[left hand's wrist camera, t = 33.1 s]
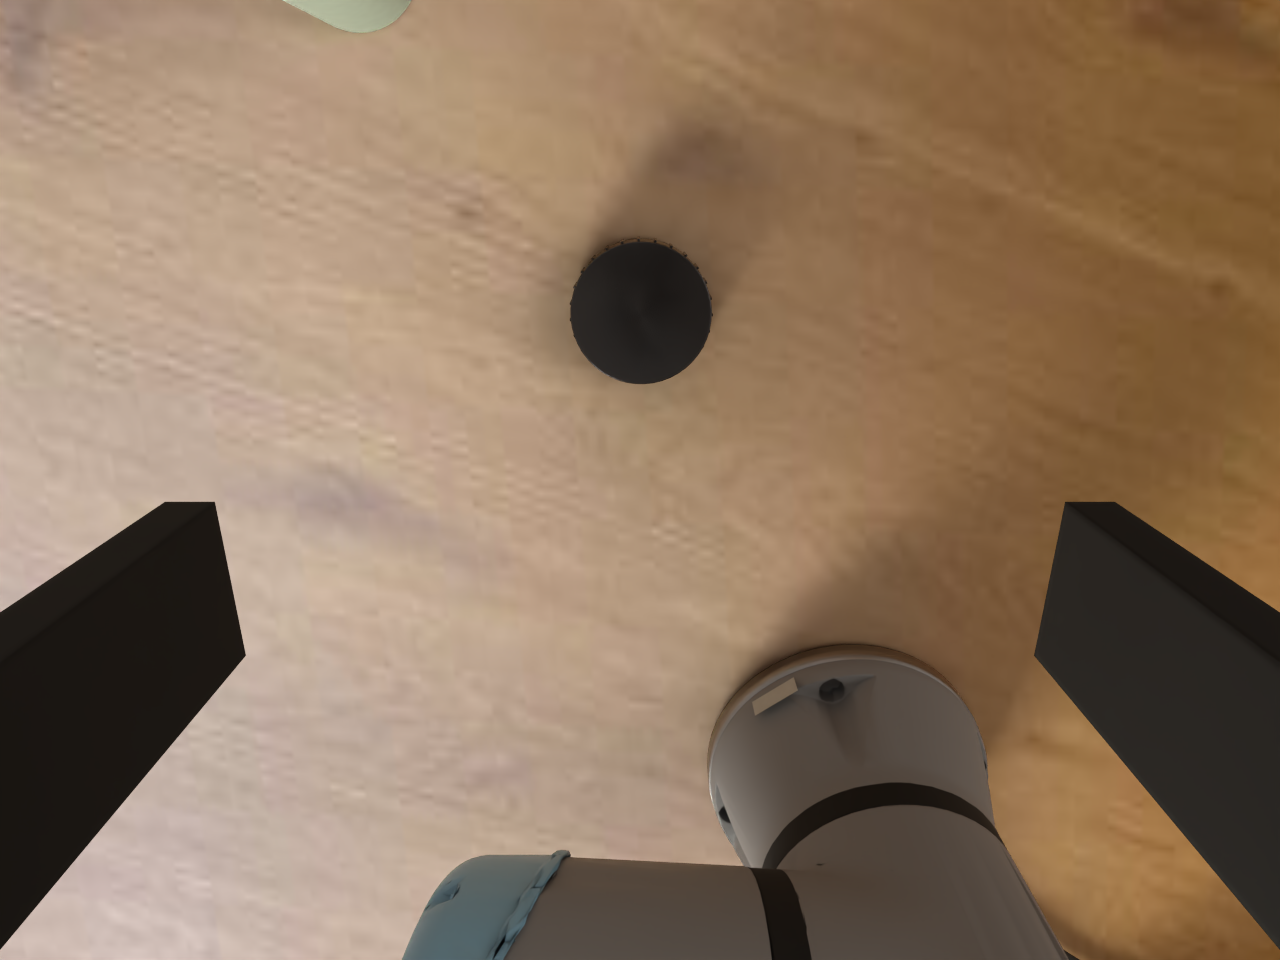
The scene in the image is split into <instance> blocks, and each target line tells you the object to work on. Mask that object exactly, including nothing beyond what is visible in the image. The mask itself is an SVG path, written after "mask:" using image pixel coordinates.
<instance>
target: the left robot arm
mask: <svg viewBox="0 0 1280 960" xmlns="http://www.w3.org/2000/svg"><path fill="white" fill-rule="evenodd" d="M245 656H246V654H245V649H244V644H243V639H242V634H241V630H240V625H239V620H238V615H237V610H236V605H235V600H234V595H233V590H232V585H231V580H230V575H229V570H228V565H227V560H226V555H225V550H224V545H223V540H222V536H221V531H220V526H219V521H218V516H217V511H216V506H215V502H164V503H163V504H161V505H160V506H158V507H157V508H155V509H154V510H152V511H151V512H149V513H148V514H146V515H145V516H143V517H142V518H140V519H139V520H137V521H136V522H134V523H133V524H132V525H130V526H129V527H127V528H126V529H124V530H123V531H121V532H120V533H118V534H117V535H115V536H114V537H112V538H111V539H109V540H108V541H106V542H105V543H103V544H102V545H100V546H99V547H97V548H96V549H94V550H93V551H91V552H90V553H88V554H87V555H85V556H84V557H82V558H81V559H79V560H78V561H76V562H75V563H73V564H72V565H70V566H69V567H67V568H66V569H64V570H63V571H61V572H60V573H58V574H57V575H55V576H54V577H53V578H51V579H50V580H48V581H47V582H45V583H44V584H42V585H41V586H39V587H38V588H36V589H35V590H33V591H32V592H30V593H29V594H27V595H26V596H24V597H23V598H21V599H20V600H18V601H17V602H15V603H14V604H12V605H11V606H9V607H8V608H6V609H5V610H3V611H2V612H0V949H1V948H2V947H3V946H4V944H5V943H6V942H7V941H8V940H9V938H10V937H11V936H12V935H13V934H14V932H15V931H16V930H17V929H18V928H19V926H20V925H21V924H22V923H23V922H24V920H25V919H26V918H27V917H28V916H29V915H30V913H31V912H32V911H33V910H34V909H35V907H36V906H37V905H38V904H39V903H40V901H41V900H42V899H43V898H44V897H45V895H46V894H47V893H48V892H49V891H50V889H51V888H52V887H53V886H54V885H55V883H56V882H57V881H58V880H59V879H60V877H61V876H62V875H63V874H64V873H65V871H66V870H67V869H68V868H69V867H70V865H71V864H72V863H73V862H74V861H75V859H76V858H77V857H78V856H79V855H80V853H81V852H82V851H83V850H84V849H85V847H86V846H87V845H88V844H89V843H90V841H91V840H92V839H93V838H94V837H95V835H96V834H97V833H98V832H99V831H100V829H101V828H102V827H103V826H104V825H105V823H106V822H107V821H108V820H109V819H110V818H111V816H112V815H113V814H114V813H115V812H116V810H117V809H118V808H119V807H120V806H121V804H122V803H123V802H124V801H125V800H126V798H127V797H128V796H129V795H130V794H131V792H132V791H133V790H134V789H135V788H136V786H137V785H138V784H139V783H140V782H141V780H142V779H143V778H144V777H145V776H146V774H147V773H148V772H149V771H150V770H151V768H152V767H153V766H154V765H155V764H156V762H157V761H158V760H159V759H160V758H161V756H162V755H163V754H164V753H165V752H166V750H167V749H168V748H169V747H170V746H171V744H172V743H173V742H174V741H175V740H176V738H177V737H178V736H179V735H180V734H181V732H182V731H183V730H184V729H185V728H186V726H187V725H188V724H189V723H190V722H191V721H192V719H193V718H194V717H195V716H196V715H197V713H198V712H199V711H200V710H201V709H202V707H203V706H204V705H205V704H206V703H207V701H208V700H209V699H210V698H211V697H212V695H213V694H214V693H215V692H216V691H217V689H218V688H219V687H220V686H221V685H222V683H223V682H224V681H225V680H226V679H227V677H228V676H229V675H230V674H231V673H232V671H233V670H234V669H235V668H236V667H237V665H238V664H239V663H240V662H241V661H242V659H243V658H244V657H245ZM1034 656H1035V657H1036V658H1037V659H1038V661H1039V662H1040V663H1041V664H1042V665H1043V667H1044V668H1045V669H1046V670H1047V671H1048V673H1049V674H1050V675H1051V676H1052V677H1053V679H1054V680H1055V681H1056V682H1057V683H1058V685H1059V686H1060V687H1061V688H1062V689H1063V691H1064V692H1065V693H1066V694H1067V695H1068V697H1069V698H1070V699H1071V700H1072V701H1073V703H1074V704H1075V705H1076V706H1077V707H1078V709H1079V710H1080V711H1081V712H1082V713H1083V715H1084V716H1085V717H1086V718H1087V719H1088V721H1089V722H1090V723H1091V724H1092V725H1093V726H1094V728H1095V729H1096V730H1097V731H1098V732H1099V734H1100V735H1101V736H1102V737H1103V738H1104V740H1105V741H1106V742H1107V743H1108V744H1109V746H1110V747H1111V748H1112V749H1113V750H1114V752H1115V753H1116V754H1117V755H1118V756H1119V758H1120V759H1121V760H1122V761H1123V762H1124V764H1125V765H1126V766H1127V767H1128V768H1129V770H1130V771H1131V772H1132V773H1133V774H1134V776H1135V777H1136V778H1137V779H1138V780H1139V782H1140V783H1141V784H1142V785H1143V786H1144V788H1145V789H1146V790H1147V791H1148V792H1149V794H1150V795H1151V796H1152V797H1153V798H1154V800H1155V801H1156V802H1157V803H1158V804H1159V806H1160V807H1161V808H1162V809H1163V810H1164V812H1165V813H1166V814H1167V815H1168V816H1169V818H1170V819H1171V820H1172V821H1173V822H1174V823H1175V825H1176V826H1177V827H1178V828H1179V829H1180V831H1181V832H1182V833H1183V834H1184V835H1185V837H1186V838H1187V839H1188V840H1189V841H1190V843H1191V844H1192V845H1193V846H1194V847H1195V849H1196V850H1197V851H1198V852H1199V853H1200V855H1201V856H1202V857H1203V858H1204V859H1205V861H1206V862H1207V863H1208V864H1209V865H1210V867H1211V868H1212V869H1213V870H1214V871H1215V873H1216V874H1217V875H1218V876H1219V877H1220V879H1221V880H1222V881H1223V882H1224V883H1225V885H1226V886H1227V887H1228V888H1229V889H1230V891H1231V892H1232V893H1233V894H1234V895H1235V897H1236V898H1237V899H1238V900H1239V901H1240V903H1241V904H1242V905H1243V906H1244V907H1245V909H1246V910H1247V911H1248V912H1249V913H1250V915H1251V916H1252V917H1253V918H1254V919H1255V921H1256V922H1257V923H1258V924H1259V925H1260V926H1261V928H1262V929H1263V930H1264V931H1265V932H1266V934H1267V935H1268V936H1269V937H1270V938H1271V940H1272V941H1273V942H1274V943H1275V944H1276V946H1277V947H1278V948H1279V949H1280V612H1278V611H1277V610H1275V609H1274V608H1272V607H1271V606H1269V605H1268V604H1266V603H1265V602H1263V601H1262V600H1260V599H1259V598H1257V597H1256V596H1254V595H1253V594H1251V593H1250V592H1248V591H1247V590H1245V589H1244V588H1242V587H1241V586H1239V585H1238V584H1236V583H1235V582H1233V581H1232V580H1230V579H1229V578H1227V577H1226V576H1225V575H1223V574H1222V573H1220V572H1219V571H1217V570H1216V569H1214V568H1213V567H1211V566H1210V565H1208V564H1207V563H1205V562H1204V561H1202V560H1201V559H1199V558H1198V557H1196V556H1195V555H1193V554H1192V553H1190V552H1189V551H1187V550H1186V549H1184V548H1183V547H1181V546H1180V545H1178V544H1177V543H1175V542H1174V541H1172V540H1171V539H1169V538H1168V537H1166V536H1165V535H1163V534H1162V533H1160V532H1159V531H1157V530H1156V529H1154V528H1153V527H1151V526H1150V525H1148V524H1147V523H1146V522H1144V521H1143V520H1141V519H1140V518H1138V517H1137V516H1135V515H1134V514H1132V513H1131V512H1129V511H1128V510H1126V509H1125V508H1123V507H1122V506H1120V505H1119V504H1117V503H1116V502H1065V506H1064V511H1063V516H1062V521H1061V526H1060V531H1059V536H1058V540H1057V545H1056V550H1055V555H1054V560H1053V565H1052V570H1051V575H1050V580H1049V585H1048V590H1047V595H1046V600H1045V605H1044V610H1043V615H1042V620H1041V625H1040V630H1039V634H1038V639H1037V644H1036V649H1035V654H1034ZM707 769H708V779H709V788H710V794H711V799H712V803H713V806H714V809H715V812H716V815H717V818H718V820H719V823H720V825H721V827H722V829H723V831H724V833H725V834H726V836H727V838H728V840H729V841H730V843H731V844H732V845H733V847H734V849H735V851H736V853H737V855H738V857H739V858H740V860H741V862H742V863H743V865H744V866H727V865H708V864H689V863H669V862H650V861H631V860H612V859H593V858H573V857H570V856H571V854H570V852H569V851H566V850H559V851H556V852H555V853H553V854H552V855H485V856H479V857H476V858H472V859H470V860H467V861H465V862H464V863H462V864H460V865H459V866H458V867H456V868H455V869H454V870H453V871H451V873H450V874H449V875H448V876H447V877H446V878H445V879H444V880H443V881H442V882H441V884H440V885H439V886H438V888H437V889H436V890H435V892H434V893H433V895H432V897H431V898H430V900H429V902H428V904H427V906H426V907H425V909H424V911H423V913H422V916H421V917H420V919H419V921H418V924H417V926H416V928H415V930H414V932H413V934H412V937H411V939H410V941H409V944H408V946H407V948H406V951H405V953H404V956H403V958H402V960H1079V959H1077V958H1076V957H1074V956H1072V955H1071V954H1069V953H1068V952H1066V951H1065V950H1063V948H1062V947H1061V945H1060V943H1059V941H1058V940H1057V938H1056V936H1055V934H1054V932H1053V931H1052V929H1051V927H1050V925H1049V923H1048V922H1047V920H1046V918H1045V916H1044V914H1043V913H1042V911H1041V909H1040V907H1039V906H1038V904H1037V902H1036V900H1035V898H1034V897H1033V895H1032V893H1031V891H1030V889H1029V888H1028V886H1027V884H1026V882H1025V880H1024V879H1023V877H1022V875H1021V873H1020V872H1019V870H1018V868H1017V866H1016V864H1015V863H1014V861H1013V859H1012V857H1011V856H1010V854H1009V852H1008V851H1007V849H1006V847H1005V845H1004V843H1003V842H1002V840H1001V838H1000V836H999V834H998V832H997V830H996V828H995V824H994V818H993V811H992V804H991V798H990V791H989V786H988V772H987V757H986V751H985V746H984V743H983V740H982V737H981V735H980V732H979V729H978V726H977V724H976V722H975V720H974V717H973V716H972V714H971V713H970V711H969V709H968V708H967V706H966V704H965V703H964V701H963V700H962V698H961V696H960V695H959V693H958V692H957V691H956V689H955V688H954V687H953V686H952V684H951V683H950V682H949V681H948V680H947V679H946V678H944V677H943V676H942V675H941V674H940V673H939V672H937V671H936V670H935V669H933V668H932V667H930V666H929V665H927V664H926V663H924V662H922V661H920V660H918V659H916V658H914V657H912V656H909V655H907V654H904V653H902V652H898V651H895V650H891V649H888V648H882V647H877V646H868V645H836V646H828V647H822V648H817V649H813V650H809V651H805V652H802V653H799V654H796V655H793V656H791V657H789V658H786V659H784V660H782V661H779V662H778V663H776V664H774V665H772V666H770V667H768V668H767V669H765V670H764V671H762V672H761V673H759V674H758V675H756V676H755V677H754V678H752V679H751V680H750V681H749V682H748V683H746V684H745V685H744V686H743V687H742V688H741V689H740V690H739V691H738V692H737V693H736V694H735V695H734V697H733V698H732V699H731V700H730V701H729V703H728V704H727V706H726V707H725V708H724V710H723V711H722V713H721V715H720V717H719V719H718V720H717V722H716V725H715V727H714V730H713V732H712V735H711V739H710V743H709V748H708V756H707Z"/></svg>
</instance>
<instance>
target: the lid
mask: <svg viewBox="0 0 1280 960" xmlns="http://www.w3.org/2000/svg"><path fill="white" fill-rule="evenodd" d="M698 269H699V268H698V266H697V265H696V263H695V264H693V263H692V262H691V261H690V259H689V258H688V257H687V255H686V253H685V252H683V253H682V252H681V251H679V250H678V249H676V248H675V247H673V245H672V244H671V243H669V244H666V243H664V242H661V241H657V239H656V238H654V240H652V239H640V237H637V239H629V240H625V241H624V239H622V240H621V242H618V243H616V244H614V245H611V246H610V247H609V246H608V245H607V246H606V248H605V249H604V250H603V251H602V252H600V253H599V254H598V255H597V256H596V255H594V256H593V257H592V261H591V262H590V263H589V264H588V266H587V267H586V268H585V267H584V268H583V270H582V271H581V273H582V275H581V276H580V278H579V280H578V282H576V284H575V285H574V287H573V288H575V289H574V293H573V297H572V300H571V302H570V305H571V318H570V321H571V324H572V329H573V333H574V337H575V339H576V341H577V344H578V346H579V347H580V349H581V351H582V352H583V354H584V355H585V356H586V358H587V359H588V360H589V361H590V362H591V363H592V364H593V365H594V366H595V367H596V368H597V369H599V370H600V371H601V372H603V373H604V374H606V375H608V376H609V377H612V378H614V379H616V380H619V381H623V382H626V383H633V384H649V383H656V382H660V381H663V380H666V379H668V378H671V377H673V376H675V375H676V374H678V373H680V372H681V371H682V370H684V369H685V368H686V367H687V366H689V365H690V364H691V363H692V362H693V361H694V359H695V358H696V357H697V356H698V354H699V353H700V351H701V350H702V348H703V347H704V344H705V342H706V340H707V337H708V334H709V333H710V326H711V318H712V316H713V314H712V307H711V300H712V297H711V296H710V294H709V291H708V289H707V286H706V284H707V281H706V280H705V278H704V277H702V276H701V274H700V273H699V271H698Z"/></svg>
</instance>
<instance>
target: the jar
mask: <svg viewBox="0 0 1280 960" xmlns="http://www.w3.org/2000/svg"><path fill="white" fill-rule="evenodd" d="M283 1H285V2H287V3H289V4H291V5H293V6H295V7H297V8H298V9H300V10H302V11H304V12H306V13H308V14H310V15H312V16H314V17H316V18H318V19H320V20H322V21H324V22H326V23H328V24H330V25H332V26H334V27H336V28H338V29H341V30H345V31H349V32H354V33H366V32H373V31H376V30H380V29H382V28H384V27H386V26H388V25H390V24H391V23H393V22H394V21H395V20H396V19H398V18H399V17H400V16H401V15H402V13H403V12H404V11H405V10H406V9H407V7H408V5H409V4H410V2H411V0H283Z"/></svg>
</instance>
